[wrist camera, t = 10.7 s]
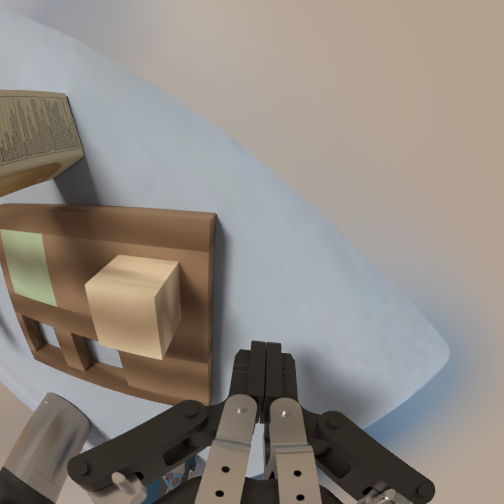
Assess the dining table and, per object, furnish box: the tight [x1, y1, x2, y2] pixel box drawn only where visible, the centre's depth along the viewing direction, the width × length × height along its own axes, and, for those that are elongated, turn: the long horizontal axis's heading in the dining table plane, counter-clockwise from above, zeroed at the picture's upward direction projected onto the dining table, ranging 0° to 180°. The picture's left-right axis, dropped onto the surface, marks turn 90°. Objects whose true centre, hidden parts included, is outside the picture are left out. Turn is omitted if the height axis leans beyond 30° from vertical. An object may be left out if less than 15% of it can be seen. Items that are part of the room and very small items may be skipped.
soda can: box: [140, 457, 196, 504], centre depth 26 cm, size 7×7×12 cm
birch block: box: [85, 255, 181, 360], centre depth 16 cm, size 4×4×4 cm
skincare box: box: [0, 90, 84, 197], centre depth 11 cm, size 6×4×12 cm
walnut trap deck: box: [0, 204, 216, 406], centre depth 21 cm, size 19×23×2 cm
